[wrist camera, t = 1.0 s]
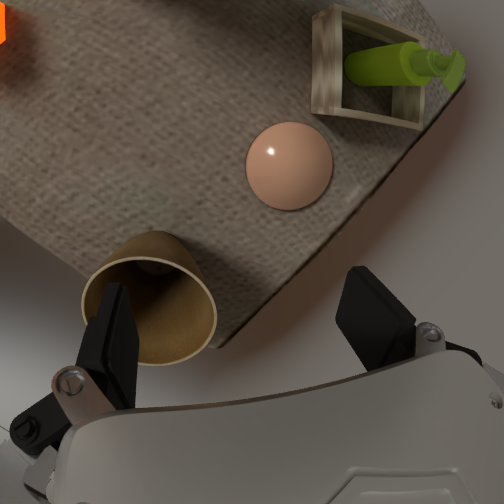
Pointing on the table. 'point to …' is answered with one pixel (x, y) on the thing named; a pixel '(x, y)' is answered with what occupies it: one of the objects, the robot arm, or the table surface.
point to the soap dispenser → (404, 66)
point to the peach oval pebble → (288, 165)
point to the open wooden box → (330, 66)
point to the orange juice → (2, 22)
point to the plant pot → (158, 297)
